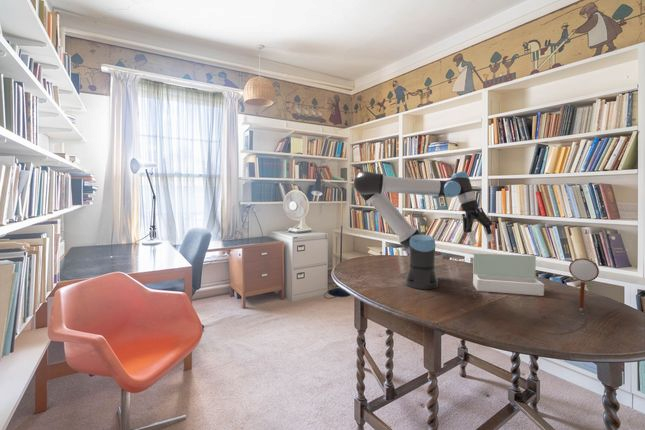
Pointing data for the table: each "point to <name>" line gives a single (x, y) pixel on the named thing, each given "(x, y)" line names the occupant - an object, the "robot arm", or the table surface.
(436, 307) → the table surface
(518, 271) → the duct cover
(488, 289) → the cable duct
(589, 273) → the magnifying glass
